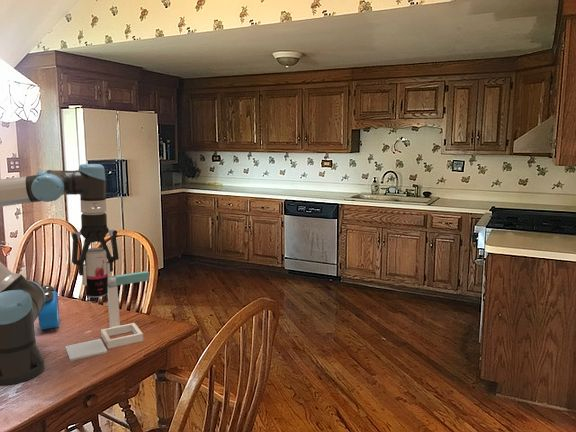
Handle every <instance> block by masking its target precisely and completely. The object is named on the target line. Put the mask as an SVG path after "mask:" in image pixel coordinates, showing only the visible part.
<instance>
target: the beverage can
mask: <svg viewBox="0 0 576 432" xmlns="http://www.w3.org/2000/svg"><path fill="white" fill-rule="evenodd" d="M107 261H108V260H107V255H106V251H105V250H104V249H103V248H102V247H91V248H90V247H89V249H88V252H87V254H86V258H85V261H84V264H85V265H86V279H87V286H85V294H86V296H87V297H88V298H102V297H105V296H106V295H107V293H108V284H107Z"/></svg>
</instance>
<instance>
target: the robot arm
mask: <svg viewBox="0 0 576 432" xmlns="http://www.w3.org/2000/svg"><path fill="white" fill-rule="evenodd" d="M105 170H106V169H105V167H104V166H103V164H100V163H97V164H96V163H83V164H79V165H78V169H77V170H52V169H47V170H39V171H38V172H37V173H36V174H34V175H29V176H27V175H25V176H19V177H18V176H17V177H12V178H11V177H9V178H1V179H0V208H1V207H9V206H16V205H23V204H31V203H39V202H45V203H50V202H53V201H57V200H59V199H60V198H61V196H67V195H69V196H70V195H76V196H77V195H79V196H80V199H79V200H80V212H81V213H82V214H80V218H81V219H80V220H81V228H80V230H79V231H76V232H71V234H70V235H71V237H72V238H71V239H72V248H71V249H72V254H71V264H73V266H78V267H77V268H78V269H77V270H78V274H79V276H82V285H83V286H84V287H86V286H87V279H86V265H85V258H86V254H87V252H88V249H90V246H91V243H95V242H97V243H100V246H101V248H103V249H104V250H105V251H106V255H107V282H108V283H110V276H111V273H113V271H114V262H115V261H118V260H119V259H120V257H119V249H118V243H117V235H118V231H117V230H116V229H114V228H113V229H110V228H108V221H107V220H108V218H107V215H108V214H107V213H106V212H107V190H106V187H107V185H106V182H107V181H106V171H105ZM107 235H109V236H110V244H111V249H112V254H111V252H110V249H109V247H108V245H107V241H106V240H105V239H106V236H107ZM81 236H82V237H83V238H84V241H83V246H82V248H81V252H80V255H79V257H78V254H79V239H80V238H81ZM42 287H43V286H41V285H40V284H39V283H37V282H35V281H32V280H28V279H27V278H26V277H25V276H23V275H22V274H21V272H19V273H15V272H12V271H11V270H10V269H8V268H7V266H6V265H4V264H3V262H1V261H0V386H8V385H15V384H19V383H23V382H25V381H28V380H31V379H33V378H35V377H37V376H39V375H40V374H41V373H42V372H43V371H44V370H45V367H46V364H45V358H44V356H43V354H42V351H41V350H40V349H39V346H38V344H37V339H36V330H35V321H36V320H37V318H38V315H39V314H40V313H41V311H42V310H43V308H44V304H45V292H44V290H43V288H42Z"/></svg>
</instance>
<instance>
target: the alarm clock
mask: <svg viewBox="0 0 576 432" xmlns="http://www.w3.org/2000/svg"><path fill="white" fill-rule="evenodd" d="M41 287H42V288H43V290H44V292H45V304H44V308H43V310H42V311H41V313H40V314H39V315H38V317H37V318H38V324H39V326H38V327H39V329H40V330H41V331H42V330H48V329H54V328H55V330H56V331H57V329H58V328H59V326H60V307H59V305H60V304H59V296H58V292H57V290H56V289H55V288H54V286H52V285H47V284H46V285H43V286H41Z"/></svg>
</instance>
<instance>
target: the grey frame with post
mask: <svg viewBox="0 0 576 432" xmlns="http://www.w3.org/2000/svg"><path fill="white" fill-rule="evenodd" d="M118 292H119V290H118V285H117V286H113V287H108V293H107V294H106V295H107V308H108V309H107V310H108V320H109V327H108V328H103V329H100V335H101V337H100V338H102V339H101V340H103V343H104V345H106V346H105V347H106V349H107V350H108V349H113V348H118V347H121V346H126V345H131V344H134V343H140V342H144V333H143V332H142V330H141V329H140V327H138V325H137V324H136V323H135V322H131V323H126V324H122V325H121V321H120V317H121V316H120V305H119V304H120V303H119V293H118ZM130 332H132V333H133V334H129V335H123V336H119V337H116V338H111V337H113V336H116V335H121V334H125V333H126V334H127V333H130Z"/></svg>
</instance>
